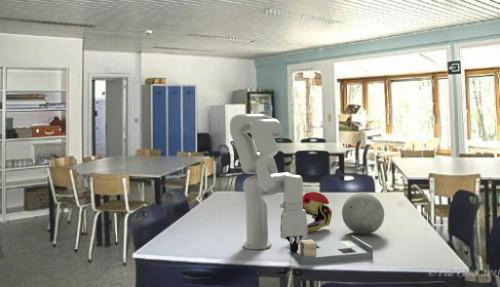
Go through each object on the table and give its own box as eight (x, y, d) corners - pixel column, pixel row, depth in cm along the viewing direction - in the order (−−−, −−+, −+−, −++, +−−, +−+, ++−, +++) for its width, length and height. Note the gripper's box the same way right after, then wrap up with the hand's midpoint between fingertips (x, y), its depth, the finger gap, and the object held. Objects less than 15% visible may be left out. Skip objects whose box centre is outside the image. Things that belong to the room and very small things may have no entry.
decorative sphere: (385, 230, 208) (385, 190, 207) (382, 241, 190) (382, 197, 189) (345, 227, 216) (345, 189, 215) (338, 237, 197) (338, 195, 196)
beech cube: (300, 252, 168) (300, 240, 168) (312, 251, 169) (311, 239, 169) (304, 256, 163) (304, 243, 163) (316, 255, 164) (316, 242, 164)
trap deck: (290, 250, 179) (289, 240, 178) (353, 245, 184) (352, 235, 184) (303, 264, 161) (303, 253, 161) (372, 258, 167) (372, 247, 166)
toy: (286, 235, 203) (286, 194, 202) (325, 226, 219) (324, 188, 218) (297, 238, 197) (296, 196, 196) (335, 229, 213) (335, 190, 212)
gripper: (277, 209, 159) (278, 257, 159) (314, 207, 161) (315, 253, 162) (272, 205, 166) (273, 251, 167) (308, 203, 169) (309, 248, 170)
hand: (294, 252), depth 165 cm, fingers closed
